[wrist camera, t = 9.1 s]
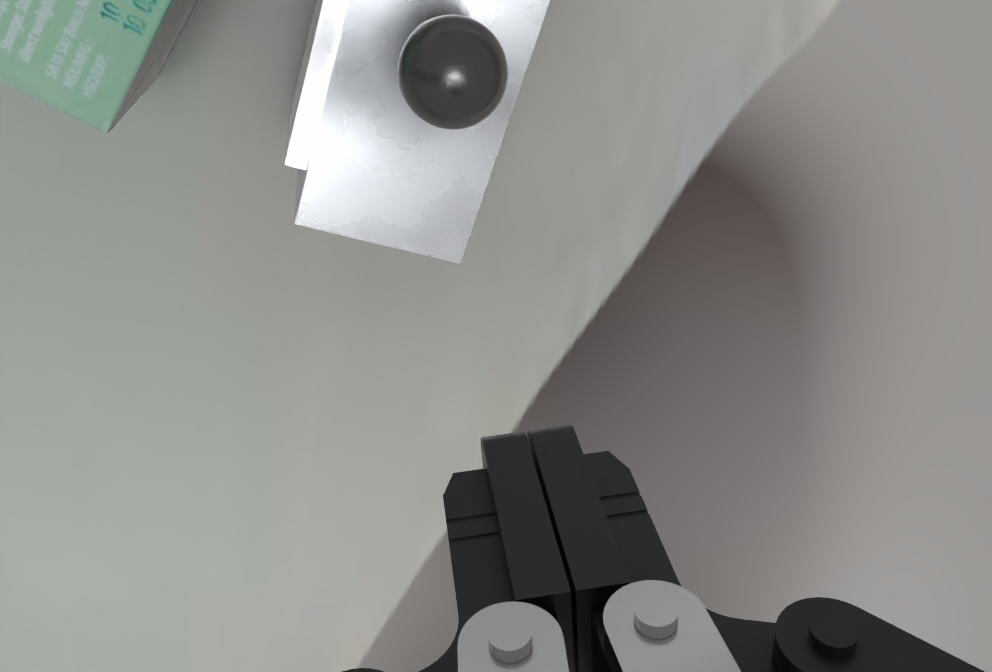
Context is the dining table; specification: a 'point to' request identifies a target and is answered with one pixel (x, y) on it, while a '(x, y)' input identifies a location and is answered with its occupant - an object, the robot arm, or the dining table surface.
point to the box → (88, 52)
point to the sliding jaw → (406, 116)
